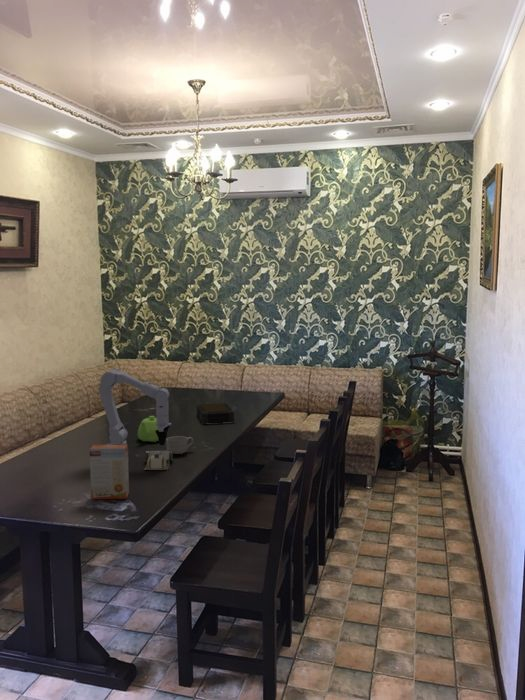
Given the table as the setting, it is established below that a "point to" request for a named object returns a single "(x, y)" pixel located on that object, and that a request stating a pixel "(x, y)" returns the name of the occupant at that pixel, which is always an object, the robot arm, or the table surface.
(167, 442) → the teacup
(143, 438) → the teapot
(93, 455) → the cracker box
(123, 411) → the table surface
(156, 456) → the light grey block
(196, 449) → the table surface
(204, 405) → the cash box
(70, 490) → the table surface
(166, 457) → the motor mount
